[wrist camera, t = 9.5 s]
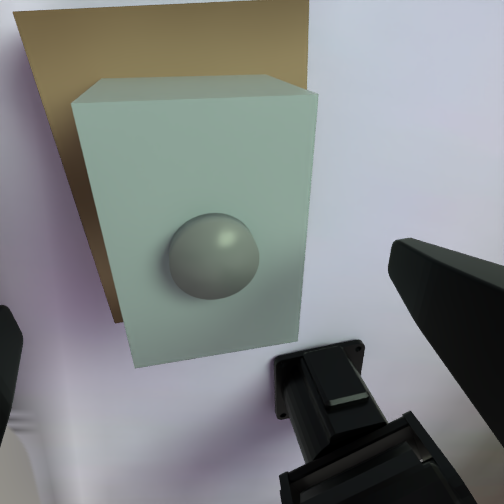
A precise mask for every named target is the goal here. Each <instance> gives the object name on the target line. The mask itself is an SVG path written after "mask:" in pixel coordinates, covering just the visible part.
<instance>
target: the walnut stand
mask: <svg viewBox="0 0 504 504" xmlns="http://www.w3.org/2000/svg"><path fill="white" fill-rule="evenodd" d="M13 15H14V18H15V21H16V24H17V27H18V30H19V33H20V36H21V39H22V42H23V45H24V48H25V51H26V54H27V57H28V61H29V64H30V67H31V70H32V73H33V76H34V79H35V82H36V85H37V88H38V91H39V94H40V97H41V100H42V103H43V106H44V109H45V112H46V115H47V118H48V121H49V124H50V127H51V130H52V134H53V137H54V140H55V143H56V146H57V149H58V152H59V155H60V158H61V161H62V164H63V167H64V170H65V173H66V176H67V179H68V182H69V185H70V188H71V191H72V194H73V197H74V200H75V203H76V207H77V210H78V213H79V216H80V219H81V222H82V225H83V228H84V231H85V234H86V237H87V240H88V243H89V246H90V249H91V252H92V255H93V258H94V261H95V264H96V267H97V270H98V273H99V276H100V280H101V283H102V286H103V289H104V292H105V295H106V298H107V301H108V304H109V307H110V310H111V313H112V316H113V319H114V322H115V323H120V322H124V321H123V317H122V313H121V309H120V305H119V301H118V297H117V292H116V288H115V284H114V280H113V276H112V272H111V268H110V264H109V259H108V255H107V251H106V247H105V243H104V239H103V235H102V230H101V226H100V222H99V218H98V214H97V210H96V206H95V201H94V197H93V193H92V189H91V185H90V181H89V177H88V173H87V168H86V164H85V160H84V156H83V152H82V148H81V144H80V139H79V135H78V131H77V127H76V123H75V119H74V115H73V111H72V106H71V103H72V102H73V101H74V100H76V99H77V98H78V97H79V96H80V95H82V94H83V93H84V92H85V91H87V90H88V89H89V88H90V87H92V86H93V85H94V84H95V83H96V82H98V81H99V80H100V79H101V78H141V77H181V76H221V75H261V74H266V75H269V76H272V77H274V78H277V79H279V80H282V81H285V82H287V83H290V84H293V85H295V86H298V87H300V88H303V89H306V90H307V63H308V25H309V0H252V1H230V2H209V3H187V4H166V5H145V6H123V7H102V8H80V9H59V10H37V11H16V12H13Z"/></svg>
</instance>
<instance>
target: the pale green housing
mask: <svg viewBox="0 0 504 504" xmlns="http://www.w3.org/2000/svg"><path fill="white" fill-rule="evenodd" d="M71 106H72V111H73V115H74V119H75V123H76V127H77V131H78V135H79V139H80V144H81V148H82V152H83V156H84V160H85V164H86V168H87V173H88V177H89V181H90V185H91V189H92V193H93V197H94V201H95V206H96V210H97V214H98V218H99V222H100V226H101V230H102V235H103V239H104V243H105V247H106V251H107V255H108V259H109V264H110V268H111V272H112V276H113V280H114V284H115V288H116V292H117V297H118V301H119V305H120V309H121V313H122V317H123V321H124V326H125V330H126V334H127V338H128V342H129V346H130V350H131V355H132V359H133V363H134V367H135V368H141V367H147V366H153V365H159V364H165V363H171V362H177V361H183V360H189V359H195V358H201V357H207V356H213V355H219V354H225V353H231V352H236V351H242V350H248V349H254V348H260V347H266V346H272V345H278V344H284V343H290V342H296V341H298V332H299V320H300V308H301V296H302V284H303V272H304V261H305V249H306V237H307V225H308V213H309V201H310V189H311V177H312V166H313V154H314V142H315V130H316V118H317V106H318V94H316V93H314V92H311V91H308V90H306V89H303V88H300V87H298V86H295V85H293V84H290V83H287V82H285V81H282V80H279V79H277V78H274V77H272V76H269V75H266V74H261V75H221V76H181V77H141V78H101V79H100V80H99V81H98V82H96V83H95V84H94V85H93V86H92V87H90V88H89V89H88V90H87V91H85V92H84V93H83V94H82V95H80V96H79V97H78V98H77V99H76V100H74V101H73V102H72V103H71Z"/></svg>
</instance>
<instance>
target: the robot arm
mask: <svg viewBox="0 0 504 504" xmlns="http://www.w3.org/2000/svg"><path fill="white" fill-rule="evenodd" d="M388 273H389V276H390V278H391V280H392V282H393V284H394V285H395V287H396V289H397V291H398V293H399V294H400V296H401V298H402V300H403V302H404V303H405V305H406V307H407V309H408V311H409V312H410V314H411V316H412V318H413V319H414V321H415V323H416V324H417V326H418V327H419V329H420V330H421V332H422V333H423V335H424V336H425V337H426V339H427V340H428V342H429V343H430V344H431V346H432V347H433V349H434V350H435V351H436V353H437V354H438V356H439V357H440V359H441V360H442V361H443V363H444V364H445V366H446V367H447V368H448V370H449V371H450V373H451V374H452V375H453V377H454V378H455V380H456V381H457V383H458V384H459V385H460V387H461V388H462V390H463V391H464V392H465V394H466V395H467V397H468V398H469V399H470V401H471V402H472V404H473V405H474V406H475V408H476V409H477V411H478V412H479V414H480V415H481V416H482V418H483V419H484V421H485V422H486V423H487V425H488V426H489V428H490V429H491V430H492V432H493V433H494V435H495V436H496V438H497V439H498V440H499V442H500V443H501V445H502V446H503V447H504V266H502V265H499V264H496V263H492V262H489V261H486V260H483V259H479V258H476V257H473V256H469V255H466V254H463V253H459V252H456V251H453V250H449V249H446V248H443V247H440V246H436V245H433V244H430V243H426V242H423V241H420V240H416V239H413V238H405V239H399V240H395V241H394V242H393V244H392V247H391V253H390V258H389V264H388ZM22 347H23V336H22V332H21V330H20V328H19V326H18V324H17V322H16V321H15V319H14V317H13V315H12V313H11V311H10V309H9V308H8V307H7V306H5V305H0V446H1V443H2V439H3V436H4V432H5V429H6V426H7V423H8V419H9V416H10V412H11V408H12V403H13V399H14V393H15V387H16V382H17V376H18V370H19V364H20V358H21V352H22ZM364 350H365V345H364V344H363V342H362V341H361V340H353V341H348V342H344V343H339V344H334V345H329V346H324V347H320V348H315V349H310V350H305V351H300V352H296V353H291V354H286V355H281V356H278V357H277V358H276V359H275V360H274V381H275V413H276V416H277V418H278V419H280V420H282V419H287V418H290V420H291V423H292V426H293V429H294V432H295V435H296V438H297V441H298V444H299V446H300V449H301V452H302V455H303V458H304V461H305V465H303V466H301V467H299V468H297V469H294V470H292V471H290V472H288V471H287V472H284V473H282V474H280V475H279V479H280V485H281V490H280V496H281V502H282V504H477V502H476V501H475V499H474V498H473V496H472V494H471V493H470V491H469V490H468V488H467V487H466V485H465V483H464V482H463V481H462V479H461V478H460V476H459V475H458V473H457V472H456V470H455V469H454V468H453V466H452V465H451V464H450V462H449V461H448V460H447V458H446V457H445V456H444V454H443V453H442V452H441V450H440V449H439V448H438V446H437V445H436V444H435V442H434V441H433V440H432V438H431V437H430V436H429V434H428V433H427V432H426V430H425V429H424V428H423V426H422V425H421V424H420V422H419V421H418V420H417V418H416V417H415V416H414V414H413V413H412V412H411V411H408V412H406V413H404V414H402V415H403V416H402V417H400V418H398V419H396V420H394V421H392V422H390V423H388V422H387V420H386V418H385V417H384V415H383V413H382V412H381V410H380V408H379V406H378V405H377V403H376V401H375V400H374V398H373V396H372V395H371V393H370V391H369V390H368V388H367V386H366V384H365V383H364V381H363V379H362V378H361V370H362V363H363V357H364ZM421 459H422V460H423V462H420V460H421Z"/></svg>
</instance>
